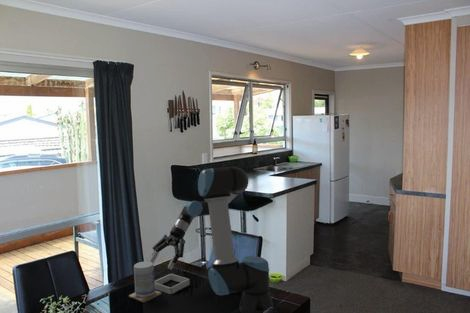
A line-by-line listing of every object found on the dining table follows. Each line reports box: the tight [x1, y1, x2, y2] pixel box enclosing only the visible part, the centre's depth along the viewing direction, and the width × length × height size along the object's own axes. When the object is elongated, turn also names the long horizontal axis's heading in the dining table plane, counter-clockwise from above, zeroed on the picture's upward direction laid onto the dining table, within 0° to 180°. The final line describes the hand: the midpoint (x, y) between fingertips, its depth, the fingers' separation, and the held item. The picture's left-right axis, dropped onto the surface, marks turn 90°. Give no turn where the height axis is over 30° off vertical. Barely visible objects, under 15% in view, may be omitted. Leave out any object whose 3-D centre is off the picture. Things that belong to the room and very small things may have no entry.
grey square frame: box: [155, 273, 191, 295], centre depth 205 cm, size 14×14×3 cm
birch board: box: [128, 289, 162, 303], centre depth 195 cm, size 11×11×1 cm
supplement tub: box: [133, 261, 156, 297], centre depth 195 cm, size 10×10×15 cm
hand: (159, 265), depth 202 cm, fingers open, 13 cm apart
